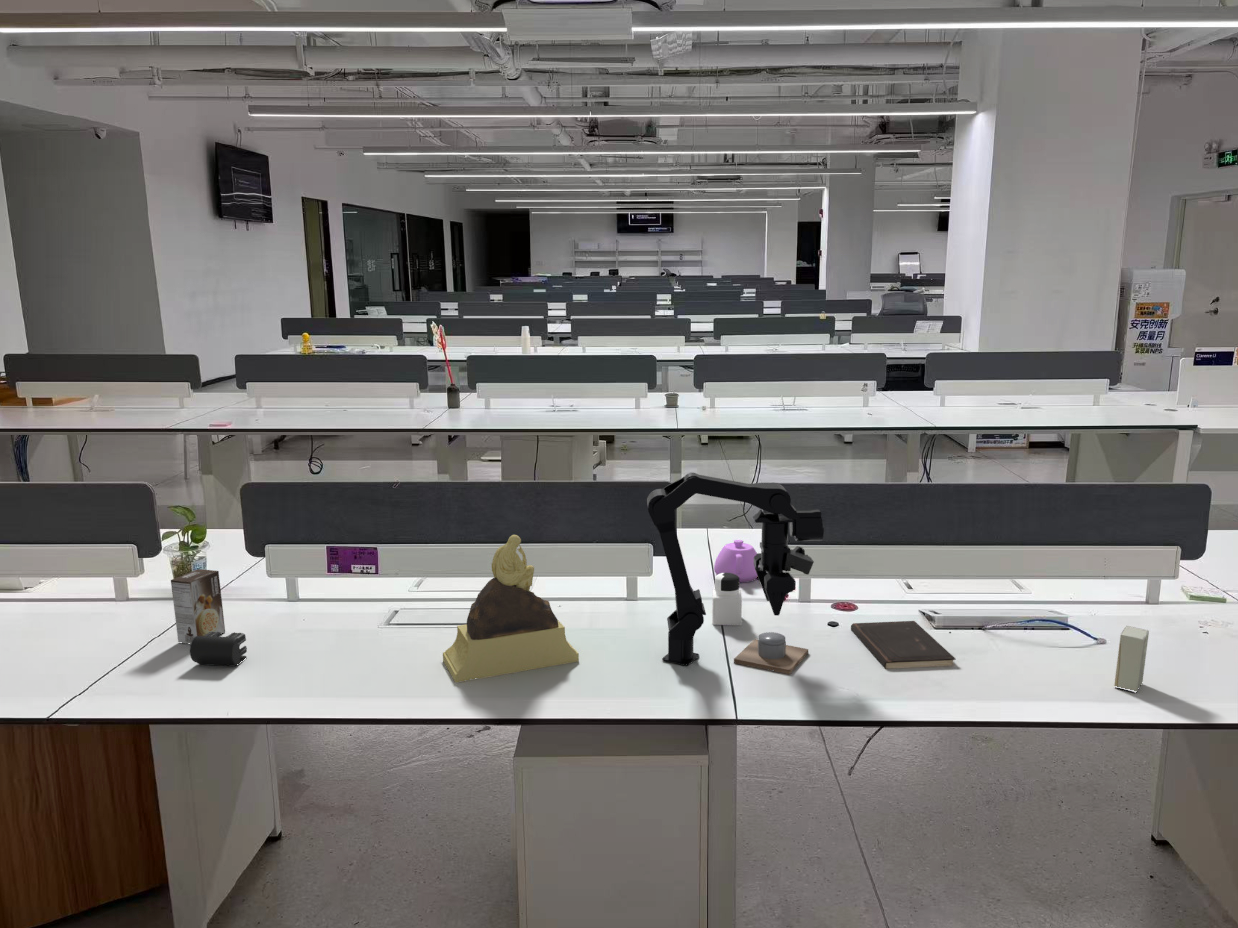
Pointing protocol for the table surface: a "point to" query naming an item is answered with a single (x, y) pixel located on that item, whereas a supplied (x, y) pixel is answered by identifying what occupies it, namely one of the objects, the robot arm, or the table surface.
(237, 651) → the end cap
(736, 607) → the medicine bottle
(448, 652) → the seated figure statue
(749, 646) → the stud plate
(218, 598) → the coffee box
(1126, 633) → the skincare box
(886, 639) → the hardcover book
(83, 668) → the table surface
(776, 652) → the grey short cylinder
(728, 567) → the teapot
